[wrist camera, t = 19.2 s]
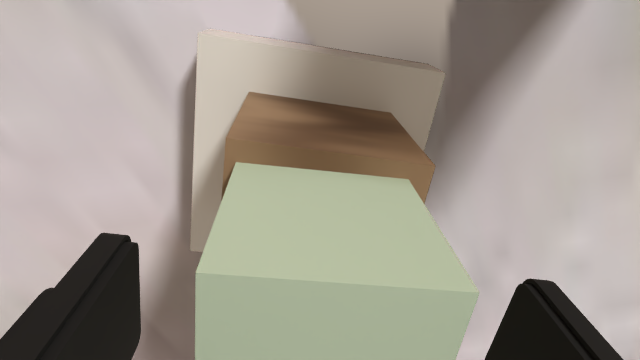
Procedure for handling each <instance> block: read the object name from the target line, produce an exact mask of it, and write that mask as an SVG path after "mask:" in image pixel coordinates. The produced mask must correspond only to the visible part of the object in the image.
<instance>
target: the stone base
mask: <svg viewBox="0 0 640 360" xmlns="http://www.w3.org/2000/svg"><path fill="white" fill-rule="evenodd" d="M445 75H446V73H445V72H443V71H441V70H439V69H437V68H435V67H433V66H431V65H429V64H425V63H419V62H412V61H406V60H400V59H394V58H388V57H382V56H376V55H370V54H363V53H357V52H351V51H345V50H339V49H332V48H326V47H320V46H314V45H308V44H302V43H296V42H290V41H284V40H277V39H271V38H265V37H259V36H253V35H247V34H240V33H234V32H228V31H222V30H216V29H208V30H205V31H202V32H199V33H198V41H197V69H196V96H195V124H194V152H193V180H192V208H191V235H190V251H196V252H203V251H204V248H205V245H206V243H207V240H208V237H209V234H210V232H211V229H212V226H213V223H214V221H215V218H216V215H217V212H218V210H219V207H220V204H221V198H222V184H223V170H224V156H225V142H226V136H227V134H228V132H229V130H230V128H231V126H232V124H233V122H234V120H235V118H236V116H237V114H238V112H239V110H240V108H241V106H242V104H243V102H244V100H245V98H246V96H247V94H248V92H255V93H262V94H269V95H276V96H282V97H289V98H296V99H303V100H309V101H316V102H323V103H330V104H336V105H343V106H350V107H357V108H363V109H370V110H377V111H383V112H390V113H392V114H393V116H394V117H395V118H396V119H397V120H398V122H399V123H400V124H401V125H402V126H403V128H404V129H405V130H406V131H407V132H408V134H409V135H410V136H411V137H412V138H413V140H414V141H415V142H416V143H417V144H418V146H419V147H420V148H421V149H422V150H423V152H424V150H425V146H426V142H427V139H428V135H429V132H430V128H431V125H432V121H433V117H434V114H435V110H436V107H437V103H438V100H439V96H440V93H441V89H442V85H443V82H444V78H445Z"/></svg>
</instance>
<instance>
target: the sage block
mask: <svg viewBox="0 0 640 360" xmlns="http://www.w3.org/2000/svg"><path fill="white" fill-rule="evenodd" d="M478 296H479V291H478V289H477V288H476V286H475V285H474V283H473V281H472V280H471V278H470V277H469V275H468V273H467V272H466V270H465V269H464V267H463V265H462V264H461V262H460V261H459V259H458V257H457V256H456V254H455V253H454V251H453V249H452V248H451V246H450V245H449V243H448V241H447V240H446V238H445V237H444V235H443V233H442V232H441V230H440V229H439V227H438V225H437V224H436V222H435V221H434V219H433V217H432V216H431V214H430V213H429V211H428V209H427V208H426V206H425V205H424V203H423V201H422V200H421V198H420V197H419V195H418V193H417V192H416V190H415V189H414V187H413V185H412V184H411V182H410V181H409V179H401V178H391V177H381V176H371V175H361V174H351V173H341V172H331V171H321V170H310V169H300V168H290V167H280V166H270V165H260V164H250V163H240V162H236V163H235V166H234V169H233V171H232V174H231V177H230V180H229V182H228V185H227V188H226V191H225V193H224V196H223V199H222V201H221V204H220V207H219V210H218V212H217V215H216V218H215V221H214V223H213V226H212V229H211V232H210V234H209V237H208V240H207V243H206V245H205V248H204V251H203V254H202V256H201V259H200V262H199V265H198V267H197V270H196V275H195V360H455V359H456V356H457V354H458V351H459V348H460V345H461V343H462V340H463V337H464V334H465V332H466V329H467V326H468V323H469V321H470V318H471V315H472V312H473V309H474V307H475V304H476V301H477V298H478Z"/></svg>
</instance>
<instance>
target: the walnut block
mask: <svg viewBox="0 0 640 360" xmlns="http://www.w3.org/2000/svg"><path fill="white" fill-rule="evenodd" d="M236 162H240V163H250V164H260V165H270V166H280V167H290V168H300V169H310V170H321V171H331V172H341V173H351V174H361V175H371V176H381V177H391V178H401V179H409V181H410V182H411V184H412V185H413V187H414V189H415V190H416V192H417V193H418V195H419V197H420V198H421V200H422V201H423V203H425V200H426V196H427V193H428V190H429V186H430V183H431V179H432V176H433V173H434V169H435V165H434V164H433V162H432V161H431V160H430V159H429V158H428V156H427V155H426V154H425V153H424V152H423V150H422V149H421V148H420V147H419V146H418V144H417V143H416V142H415V141H414V140H413V138H412V137H411V136H410V135H409V134H408V132H407V131H406V130H405V129H404V128H403V126H402V125H401V124H400V123H399V122H398V120H397V119H396V118H395V117H394V116H393V114H392V113H390V112H383V111H377V110H370V109H363V108H357V107H350V106H343V105H336V104H330V103H323V102H316V101H309V100H303V99H296V98H289V97H282V96H276V95H269V94H262V93H255V92H248V94H247V96H246V98H245V100H244V102H243V104H242V106H241V108H240V110H239V112H238V114H237V116H236V118H235V120H234V122H233V124H232V126H231V128H230V130H229V132H228V134H227V136H226V142H225V156H224V170H223V184H222V198H221V201H222V199H223V196H224V193H225V191H226V188H227V185H228V182H229V180H230V177H231V174H232V171H233V169H234V166H235V163H236Z"/></svg>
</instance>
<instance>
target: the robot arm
mask: <svg viewBox="0 0 640 360" xmlns="http://www.w3.org/2000/svg"><path fill="white" fill-rule="evenodd" d="M140 333H141V321H140V282H139V248H138V244H137V243H134V242H131V239H130V237H129V236H128V235H119V234H110V233H101V234H100V235H99V236H98V237H97V238H96V239H95V240H94V242H93V243H92V244H91V245H90V246H89V248H88V249H87V250H86V251H85V252H84V253H83V255H82V256H81V257H80V258H79V259H78V261H77V262H76V263H75V264H74V265H73V266H72V268H71V269H70V270H69V271H68V272H67V274H66V275H65V276H64V277H63V278H62V279H61V281H60V282H59V283H58V284H57V285H56V287H55V288H49V289H46V290H44V291H43V292H42V293H41V294H40V295H39V296H38V297H37V298H36V299H35V300H34V302H33V303H32V304H31V305H30V306H29V307H28V308H27V310H26V311H25V312H24V313H23V314H22V315H21V316H20V318H19V319H18V320H17V321H16V322H15V323H14V324H13V326H12V327H11V328H10V329H9V330H8V331H7V332H6V334H5V335H4V336H3V337H2V338H1V339H0V360H131V359H132V357H133V355H134V352H135V350H136V348H137V346H138V343H139V339H140ZM485 360H623V359H622V358H621V357H620V355H619V354H618V353H617V352H616V351H615V350H614V349H613V348H612V346H611V345H610V344H609V343H608V342H607V341H606V340H605V339H604V338H603V336H602V335H601V334H600V333H599V332H598V331H597V330H596V329H595V327H594V326H593V325H592V324H591V323H590V322H589V321H588V320H587V318H586V317H585V316H584V315H583V314H582V313H581V312H580V311H579V310H578V308H577V307H576V306H575V305H574V304H573V303H572V302H571V301H570V299H569V298H568V297H567V296H566V295H565V294H564V293H563V292H562V290H561V289H560V288H559V287H558V286H557V285H556V284H555V283H554V282H552V281H547V280H537V279H527V280H525V281H524V282H523V284H520V285H518V286H517V288H516V290H515V292H514V295H513V297H512V299H511V301H510V304H509V306H508V308H507V310H506V313H505V315H504V317H503V319H502V322H501V324H500V326H499V328H498V331H497V333H496V335H495V337H494V340H493V342H492V344H491V346H490V349H489V351H488V353H487V355H486V358H485Z"/></svg>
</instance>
